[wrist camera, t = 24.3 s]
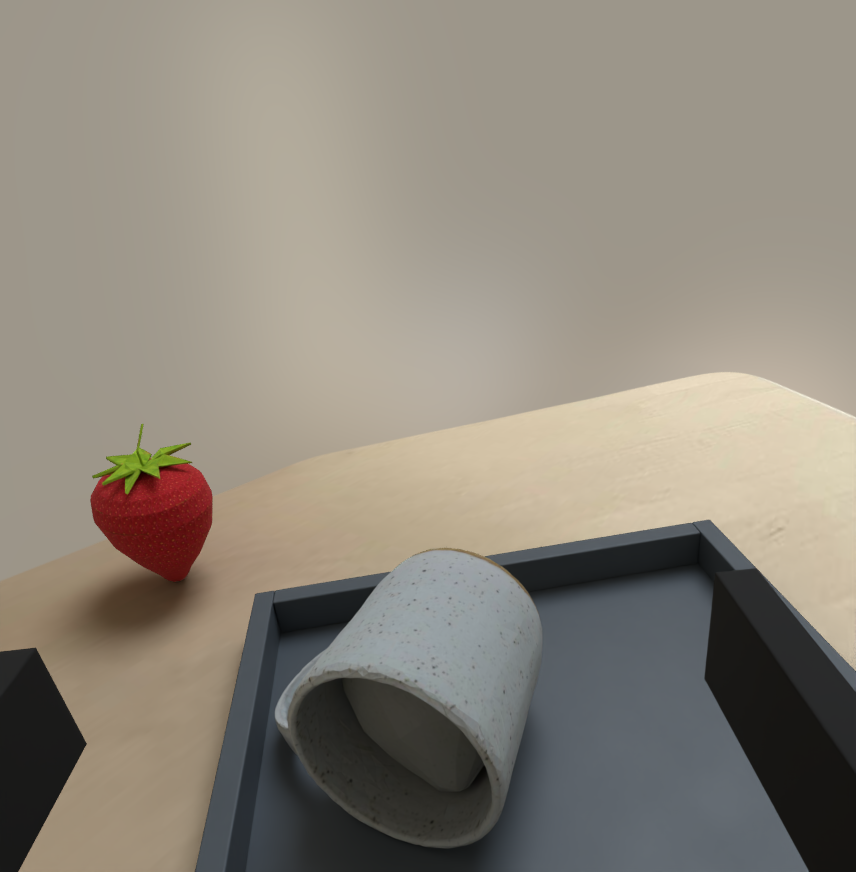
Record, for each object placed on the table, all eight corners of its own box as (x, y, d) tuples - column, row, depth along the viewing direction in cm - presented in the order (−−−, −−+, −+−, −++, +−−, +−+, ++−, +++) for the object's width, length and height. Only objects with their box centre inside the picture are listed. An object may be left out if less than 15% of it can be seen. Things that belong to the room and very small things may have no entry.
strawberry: (182, 536, 42) (135, 400, 37) (258, 566, 38) (215, 417, 33) (100, 588, 37) (37, 441, 33) (176, 628, 33) (114, 466, 29)
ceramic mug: (554, 682, 27) (546, 534, 23) (510, 878, 20) (489, 708, 17) (339, 643, 30) (306, 511, 27) (240, 796, 24) (180, 645, 20)
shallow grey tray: (706, 557, 34) (709, 518, 33) (1210, 1140, 14) (1262, 1092, 13) (266, 630, 32) (254, 593, 31) (131, 1384, 13) (87, 1354, 12)
